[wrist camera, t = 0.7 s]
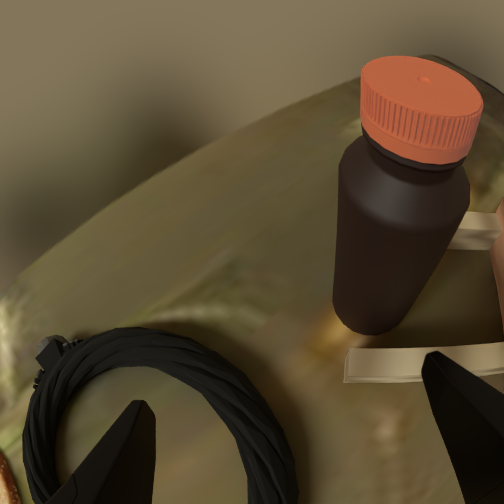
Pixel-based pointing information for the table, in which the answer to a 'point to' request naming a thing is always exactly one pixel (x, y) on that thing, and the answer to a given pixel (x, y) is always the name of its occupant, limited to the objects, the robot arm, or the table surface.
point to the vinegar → (401, 188)
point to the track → (468, 356)
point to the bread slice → (7, 485)
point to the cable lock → (177, 365)
